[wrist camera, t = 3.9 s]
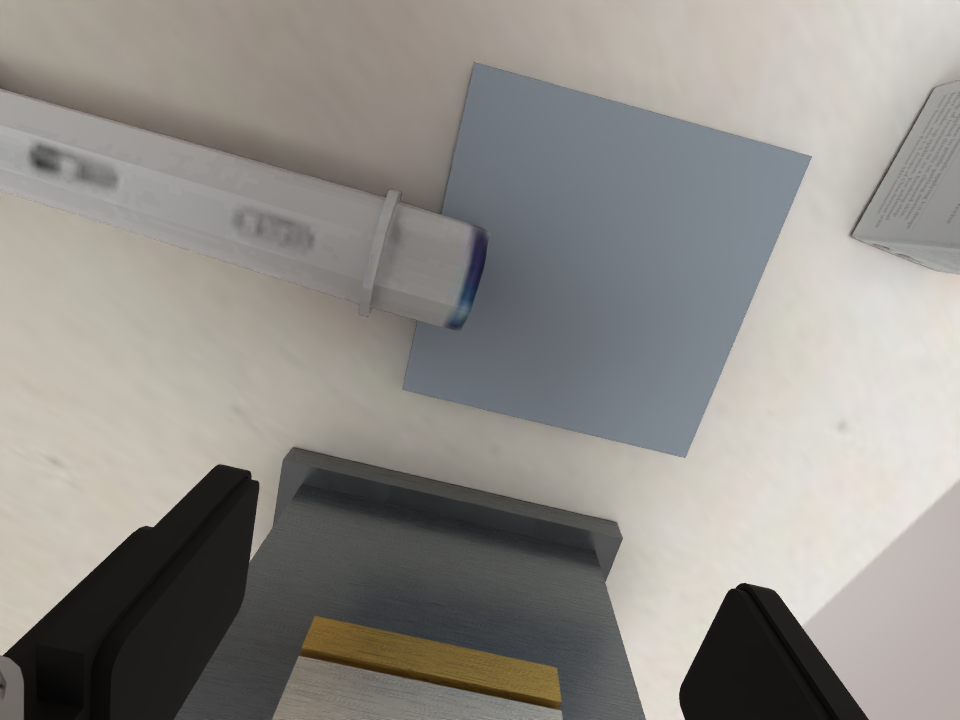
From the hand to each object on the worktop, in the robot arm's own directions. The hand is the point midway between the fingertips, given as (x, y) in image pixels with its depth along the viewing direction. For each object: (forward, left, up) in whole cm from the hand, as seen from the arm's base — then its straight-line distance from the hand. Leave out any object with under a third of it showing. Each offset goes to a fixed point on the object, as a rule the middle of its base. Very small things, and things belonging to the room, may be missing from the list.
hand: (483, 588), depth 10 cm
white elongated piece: (-5, -14, -13) cm, 20 cm away
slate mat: (-5, +3, -13) cm, 15 cm away
